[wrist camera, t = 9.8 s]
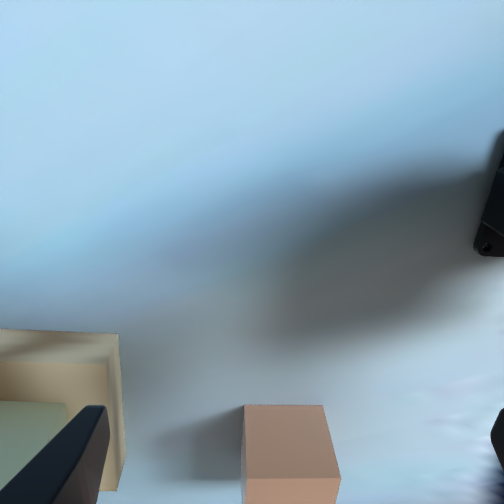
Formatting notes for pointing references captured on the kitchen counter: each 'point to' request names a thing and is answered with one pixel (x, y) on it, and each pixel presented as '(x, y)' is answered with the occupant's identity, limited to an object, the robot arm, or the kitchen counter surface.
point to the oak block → (68, 380)
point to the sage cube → (26, 432)
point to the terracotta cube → (287, 456)
